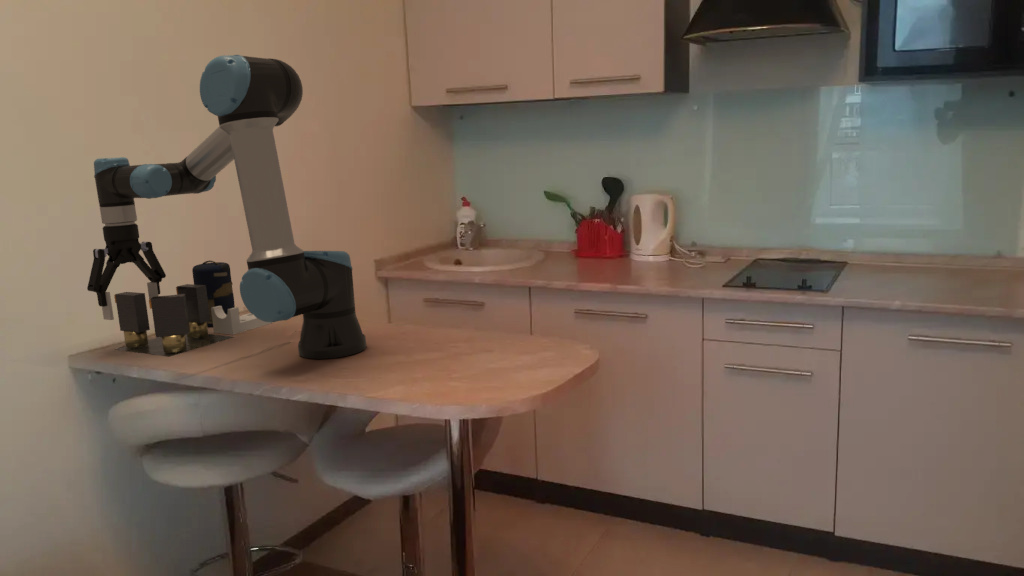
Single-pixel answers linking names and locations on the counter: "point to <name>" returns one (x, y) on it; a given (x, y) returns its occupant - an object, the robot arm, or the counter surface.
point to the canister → (215, 285)
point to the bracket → (234, 321)
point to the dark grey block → (170, 321)
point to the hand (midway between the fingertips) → (132, 313)
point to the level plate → (191, 343)
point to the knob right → (196, 309)
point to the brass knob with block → (133, 318)
